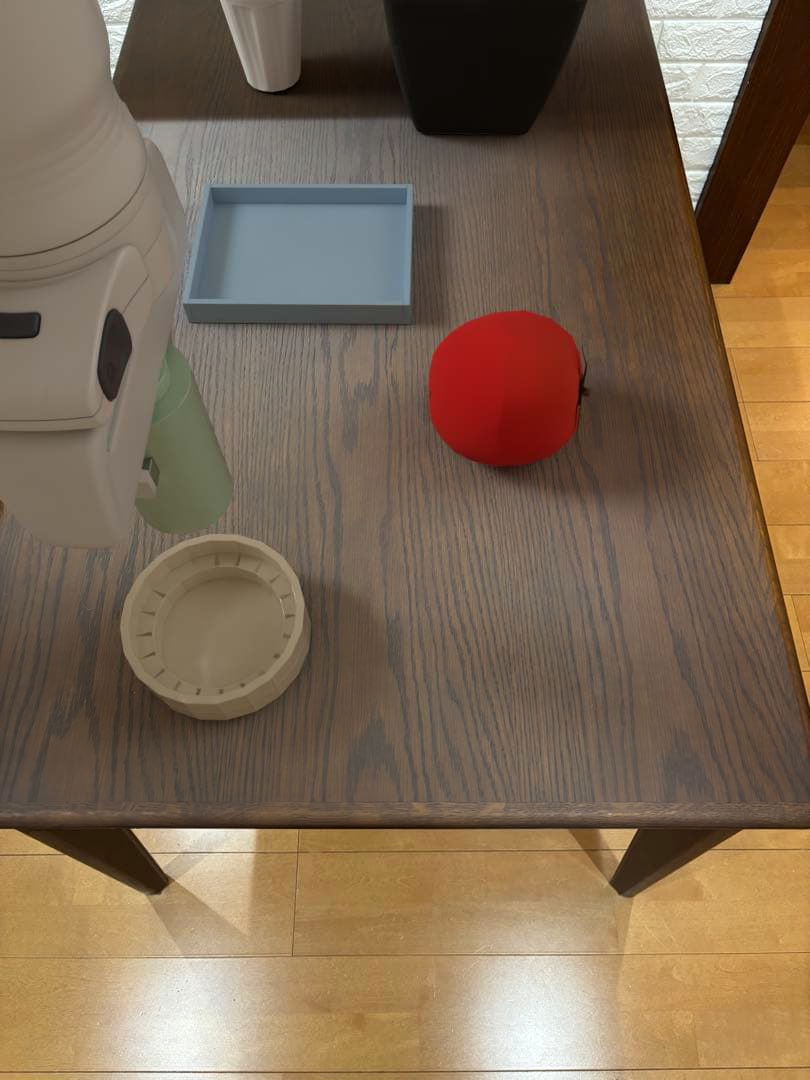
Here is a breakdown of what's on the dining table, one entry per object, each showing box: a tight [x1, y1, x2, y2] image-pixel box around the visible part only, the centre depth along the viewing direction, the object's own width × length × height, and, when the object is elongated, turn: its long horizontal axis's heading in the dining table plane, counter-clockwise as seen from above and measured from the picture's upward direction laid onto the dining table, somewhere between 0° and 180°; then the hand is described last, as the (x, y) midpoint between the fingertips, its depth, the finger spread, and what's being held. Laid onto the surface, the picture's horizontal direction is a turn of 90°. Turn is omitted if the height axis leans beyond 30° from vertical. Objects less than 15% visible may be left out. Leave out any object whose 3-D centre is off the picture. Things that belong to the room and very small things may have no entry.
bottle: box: [134, 343, 234, 536], centre depth 44 cm, size 6×6×17 cm
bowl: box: [119, 533, 312, 721], centre depth 62 cm, size 13×13×5 cm
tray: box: [181, 182, 414, 325], centre depth 81 cm, size 21×16×3 cm
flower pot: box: [382, 0, 588, 135], centre depth 86 cm, size 19×19×17 cm
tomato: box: [427, 309, 592, 467], centre depth 68 cm, size 13×13×13 cm
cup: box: [219, 0, 303, 93], centre depth 90 cm, size 10×10×13 cm
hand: (154, 430), depth 46 cm, fingers closed on bottle, 6 cm apart
